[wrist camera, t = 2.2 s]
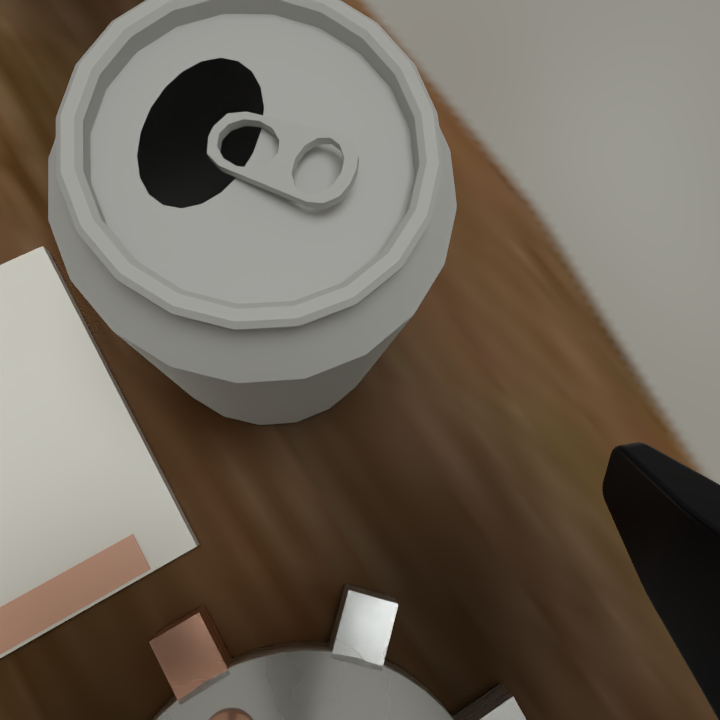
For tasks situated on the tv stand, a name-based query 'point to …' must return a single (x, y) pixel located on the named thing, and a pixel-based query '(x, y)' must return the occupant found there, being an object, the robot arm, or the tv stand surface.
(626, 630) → the tv stand surface
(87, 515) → the pad
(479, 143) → the tv stand surface
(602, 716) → the tv stand surface
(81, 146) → the can
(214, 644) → the sprocket
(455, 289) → the tv stand surface
